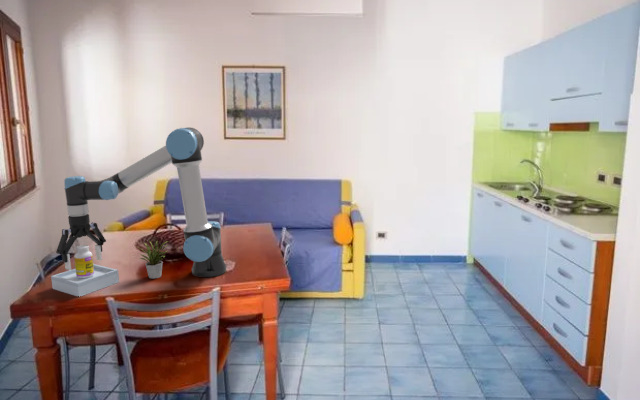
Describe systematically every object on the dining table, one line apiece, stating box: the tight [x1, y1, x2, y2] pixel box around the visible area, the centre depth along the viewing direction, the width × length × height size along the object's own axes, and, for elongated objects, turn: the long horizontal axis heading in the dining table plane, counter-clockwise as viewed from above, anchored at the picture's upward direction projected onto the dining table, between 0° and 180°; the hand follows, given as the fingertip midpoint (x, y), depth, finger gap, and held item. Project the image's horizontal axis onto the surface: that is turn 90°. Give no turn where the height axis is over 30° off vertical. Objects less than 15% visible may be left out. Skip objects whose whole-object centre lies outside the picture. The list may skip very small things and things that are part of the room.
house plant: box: [136, 240, 169, 279], centre depth 199 cm, size 14×14×16 cm
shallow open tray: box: [50, 263, 120, 298], centre depth 190 cm, size 18×18×6 cm
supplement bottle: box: [73, 244, 94, 279], centre depth 188 cm, size 7×7×13 cm
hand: (84, 264), depth 189 cm, fingers open, 13 cm apart
